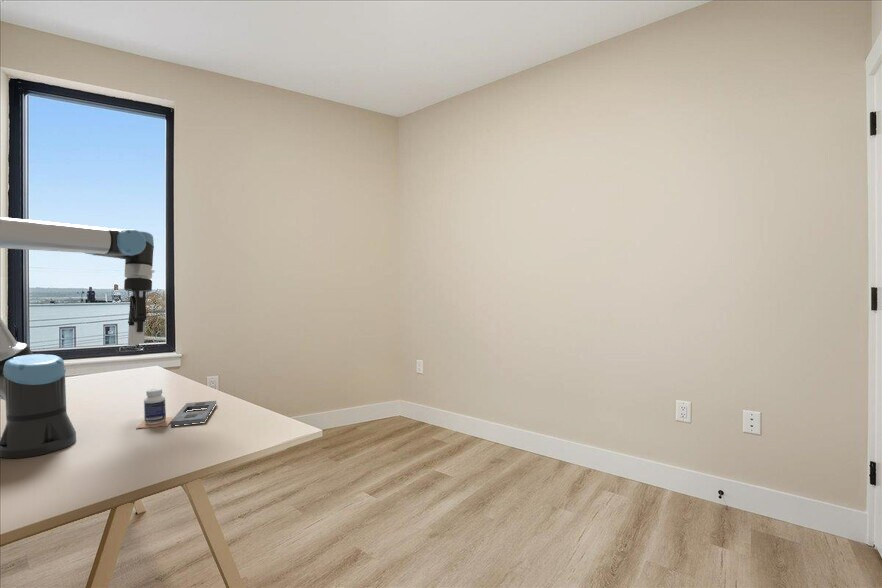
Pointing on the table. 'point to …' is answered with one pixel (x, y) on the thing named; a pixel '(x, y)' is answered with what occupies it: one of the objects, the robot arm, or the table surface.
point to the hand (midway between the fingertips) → (135, 344)
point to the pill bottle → (154, 407)
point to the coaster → (155, 424)
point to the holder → (193, 413)
